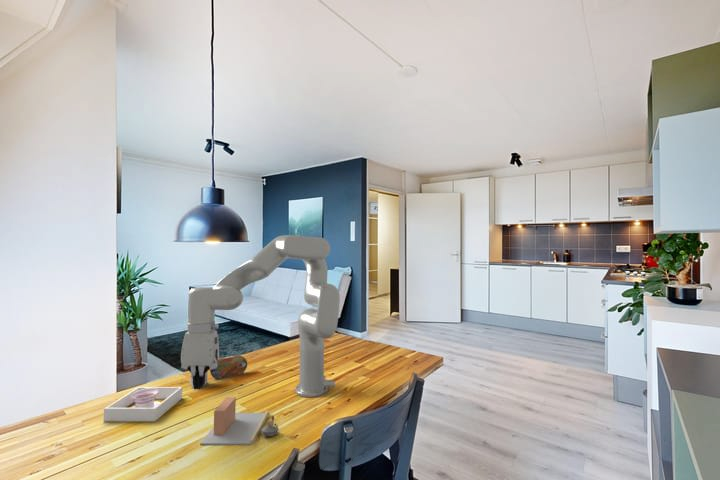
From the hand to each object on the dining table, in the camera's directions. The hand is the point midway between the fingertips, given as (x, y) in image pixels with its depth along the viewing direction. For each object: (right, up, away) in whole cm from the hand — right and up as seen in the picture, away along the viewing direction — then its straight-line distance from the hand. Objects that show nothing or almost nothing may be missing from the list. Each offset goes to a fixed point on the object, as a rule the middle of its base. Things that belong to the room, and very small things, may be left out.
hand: (198, 387), depth 99 cm
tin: (-7, -14, +41) cm, 44 cm away
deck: (+8, -12, 0) cm, 15 cm away
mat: (+12, -13, 0) cm, 17 cm away
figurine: (+23, -13, -3) cm, 27 cm away
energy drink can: (-15, -14, +31) cm, 37 cm away
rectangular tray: (-24, -13, +11) cm, 29 cm away
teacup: (-24, -13, +10) cm, 29 cm away
